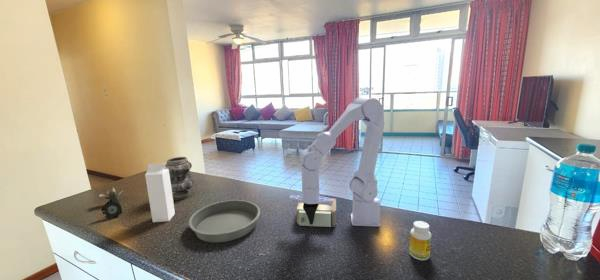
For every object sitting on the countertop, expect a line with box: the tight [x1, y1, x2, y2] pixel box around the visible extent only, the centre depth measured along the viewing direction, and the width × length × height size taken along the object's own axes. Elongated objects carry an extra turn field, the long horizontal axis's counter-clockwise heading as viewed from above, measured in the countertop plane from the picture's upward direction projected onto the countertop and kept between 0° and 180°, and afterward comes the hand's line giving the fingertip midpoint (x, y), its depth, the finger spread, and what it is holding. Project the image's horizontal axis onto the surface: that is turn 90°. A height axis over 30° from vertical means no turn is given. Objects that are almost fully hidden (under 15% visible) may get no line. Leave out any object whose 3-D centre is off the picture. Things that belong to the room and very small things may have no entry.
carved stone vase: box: [165, 156, 195, 201], centre depth 117 cm, size 12×12×18 cm
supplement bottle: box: [408, 220, 432, 261], centre depth 71 cm, size 5×5×10 cm
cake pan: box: [188, 199, 261, 243], centre depth 91 cm, size 25×25×4 cm
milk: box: [144, 162, 176, 223], centre depth 96 cm, size 6×6×22 cm
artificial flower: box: [98, 186, 124, 220], centre depth 108 cm, size 9×22×10 cm, turn 30°
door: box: [298, 211, 336, 228], centre depth 87 cm, size 12×3×6 cm, turn 82°
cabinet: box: [296, 197, 337, 226], centre depth 94 cm, size 14×10×6 cm
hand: (311, 223), depth 86 cm, fingers closed
